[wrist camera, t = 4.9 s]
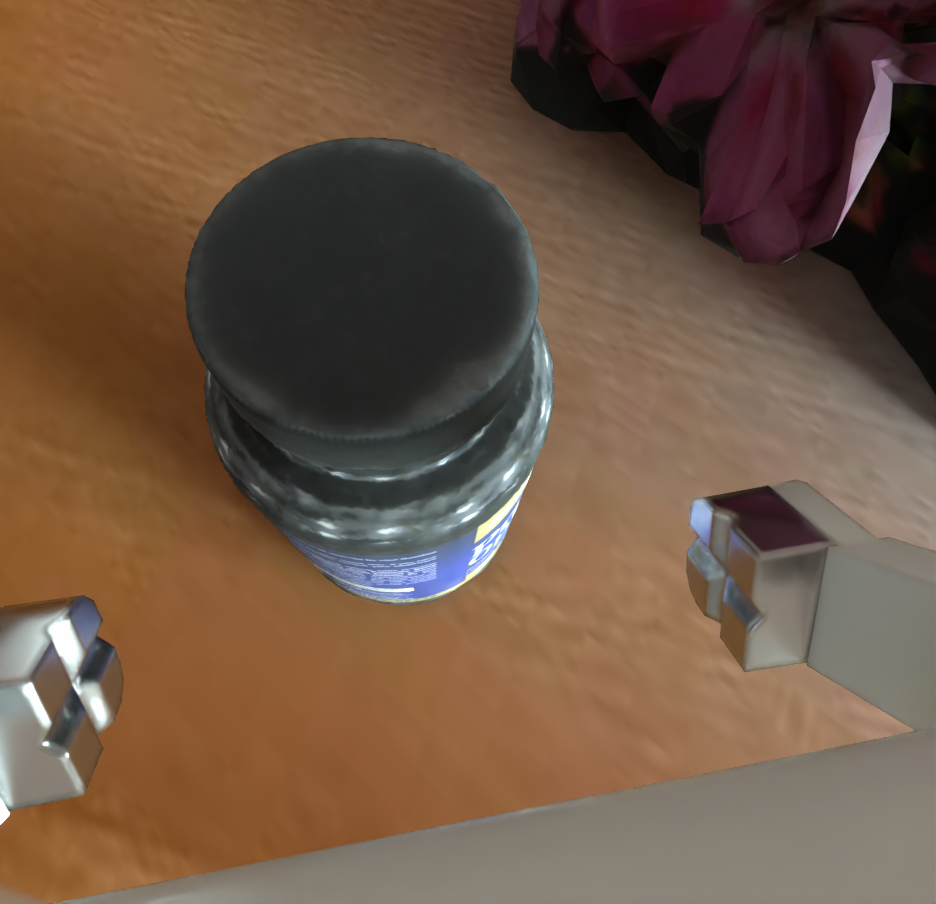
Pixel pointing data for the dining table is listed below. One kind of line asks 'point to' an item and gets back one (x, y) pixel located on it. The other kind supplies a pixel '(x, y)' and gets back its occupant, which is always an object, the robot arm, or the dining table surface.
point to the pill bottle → (374, 360)
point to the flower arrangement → (768, 125)
